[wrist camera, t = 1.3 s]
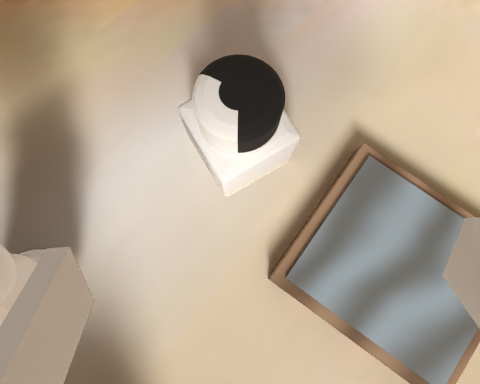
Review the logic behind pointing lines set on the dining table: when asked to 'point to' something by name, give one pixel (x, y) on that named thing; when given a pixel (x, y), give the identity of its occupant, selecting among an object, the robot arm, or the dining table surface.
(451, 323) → the wooden framed tray
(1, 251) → the cherub figurine
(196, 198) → the dining table surface
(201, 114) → the container
